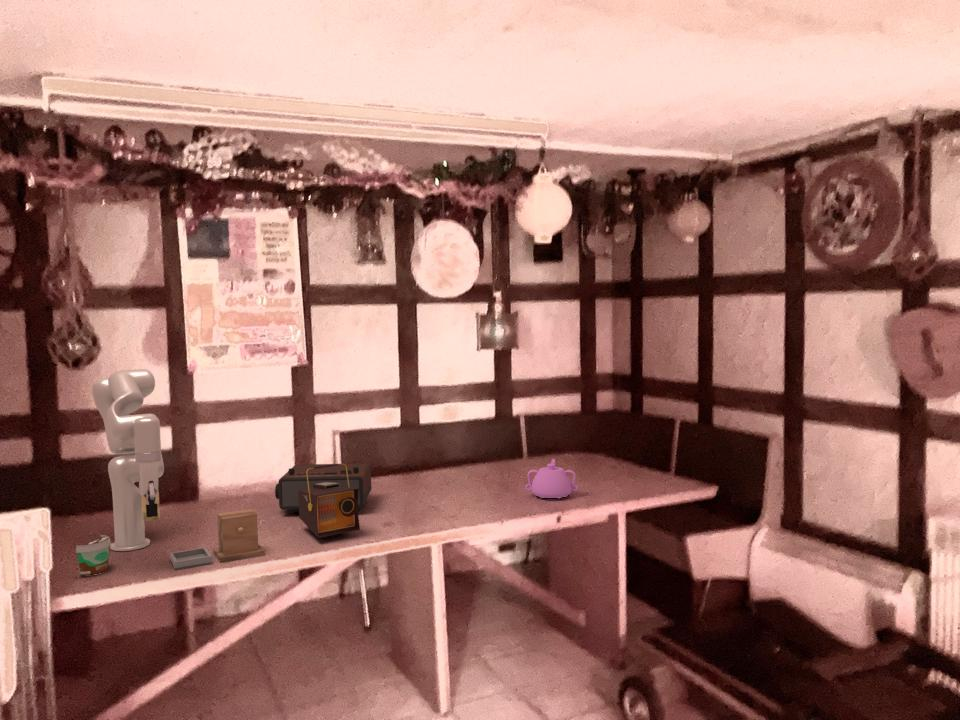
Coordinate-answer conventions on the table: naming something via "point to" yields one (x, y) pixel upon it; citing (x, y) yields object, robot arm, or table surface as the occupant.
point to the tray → (190, 558)
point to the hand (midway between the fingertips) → (151, 513)
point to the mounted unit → (237, 536)
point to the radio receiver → (335, 474)
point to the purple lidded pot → (551, 482)
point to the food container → (94, 556)
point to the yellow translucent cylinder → (145, 508)
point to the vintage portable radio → (329, 507)
